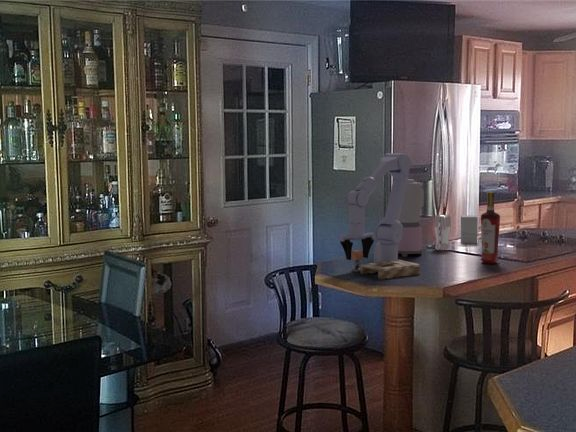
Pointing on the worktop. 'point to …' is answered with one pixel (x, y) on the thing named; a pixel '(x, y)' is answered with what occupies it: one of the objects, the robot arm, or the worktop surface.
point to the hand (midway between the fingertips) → (357, 258)
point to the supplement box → (469, 228)
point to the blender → (411, 219)
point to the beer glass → (442, 231)
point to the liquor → (490, 232)
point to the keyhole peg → (357, 259)
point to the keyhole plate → (391, 268)
